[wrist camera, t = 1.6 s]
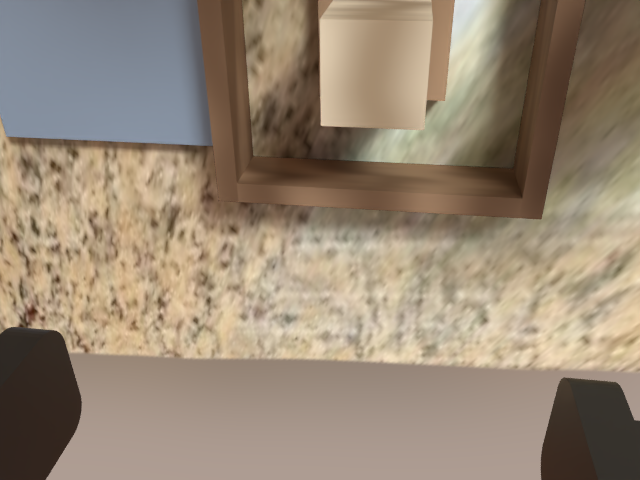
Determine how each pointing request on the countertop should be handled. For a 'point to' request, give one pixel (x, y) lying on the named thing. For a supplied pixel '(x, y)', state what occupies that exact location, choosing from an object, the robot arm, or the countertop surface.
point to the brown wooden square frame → (378, 177)
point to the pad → (103, 71)
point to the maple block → (375, 63)
